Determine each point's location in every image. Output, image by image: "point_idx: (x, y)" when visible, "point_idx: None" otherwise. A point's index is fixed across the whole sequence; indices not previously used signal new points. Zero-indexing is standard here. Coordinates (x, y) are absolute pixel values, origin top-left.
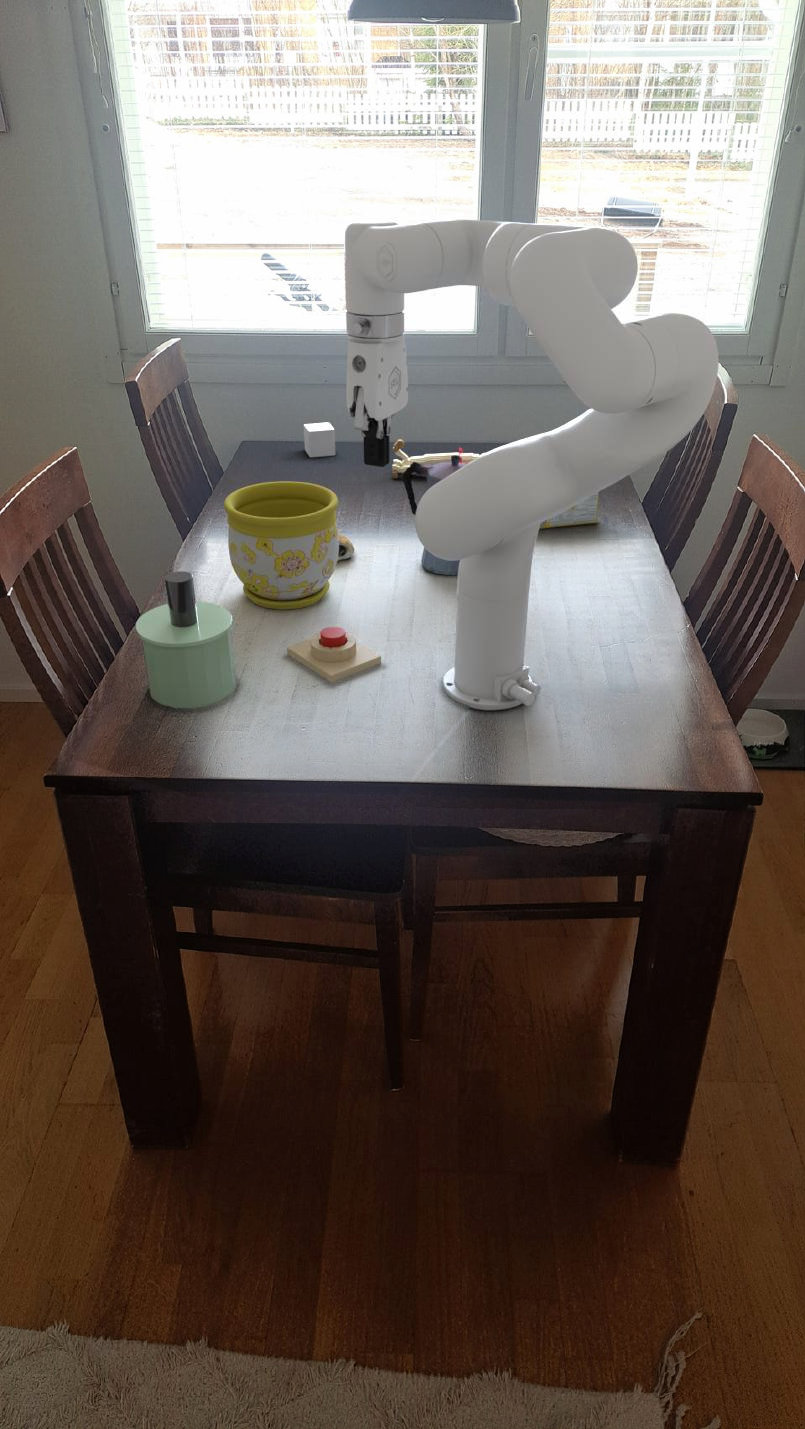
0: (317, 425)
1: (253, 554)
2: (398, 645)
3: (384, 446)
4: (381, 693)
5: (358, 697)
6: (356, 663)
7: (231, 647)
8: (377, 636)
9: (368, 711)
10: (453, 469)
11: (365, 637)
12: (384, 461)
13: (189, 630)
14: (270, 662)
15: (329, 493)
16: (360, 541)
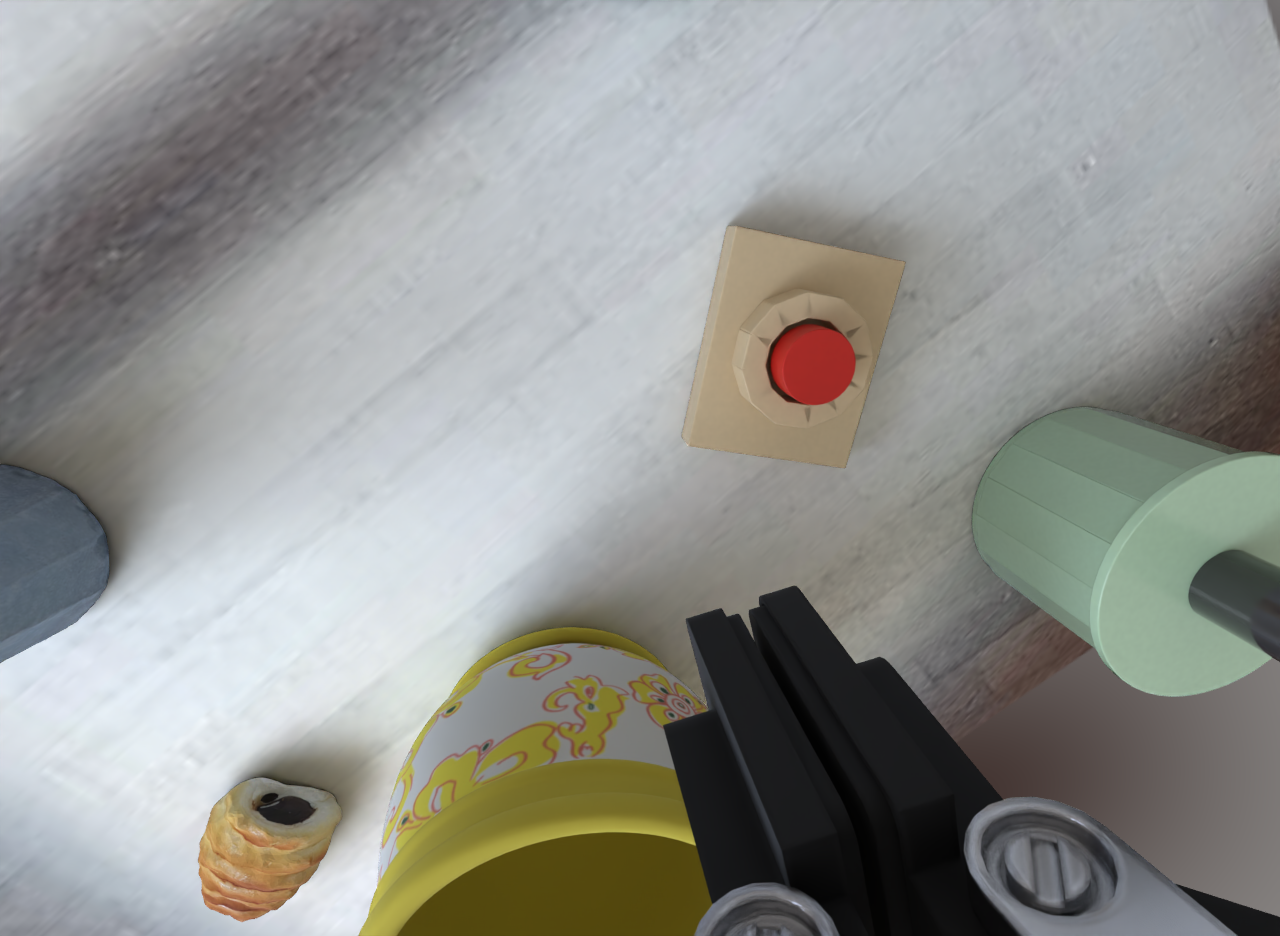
0: None
1: None
2: (591, 275)
3: (891, 713)
4: (848, 115)
5: (898, 156)
6: (813, 253)
7: (1106, 468)
8: (588, 364)
9: (944, 77)
10: None
11: (616, 386)
12: (811, 608)
13: (1262, 531)
14: (874, 470)
15: None
16: (131, 846)
